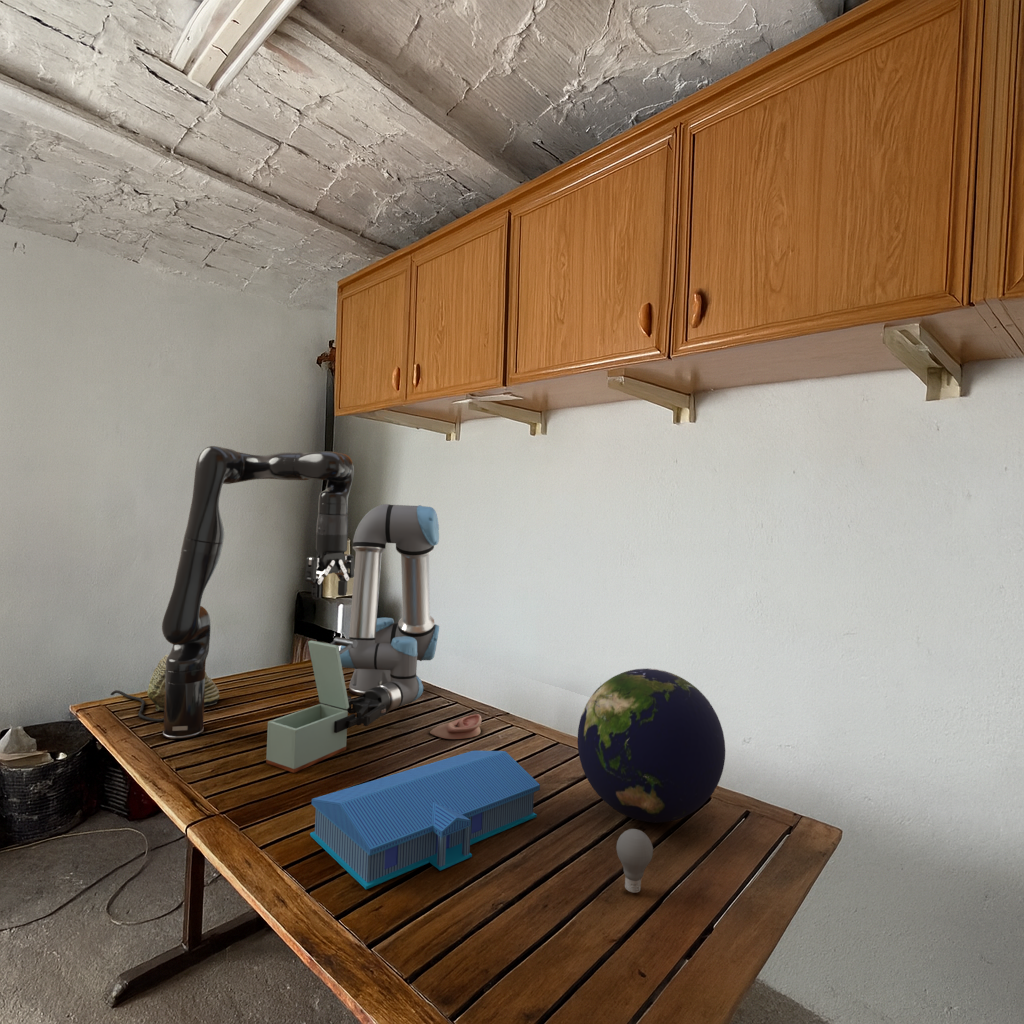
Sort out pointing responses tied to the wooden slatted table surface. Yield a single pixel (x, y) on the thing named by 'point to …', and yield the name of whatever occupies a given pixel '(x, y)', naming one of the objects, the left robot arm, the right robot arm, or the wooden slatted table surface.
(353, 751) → the wooden slatted table surface
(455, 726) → the anatomical model
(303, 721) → the chest
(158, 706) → the fossil
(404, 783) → the model building
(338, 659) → the lid
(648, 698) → the globe
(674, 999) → the wooden slatted table surface
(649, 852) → the light bulb
